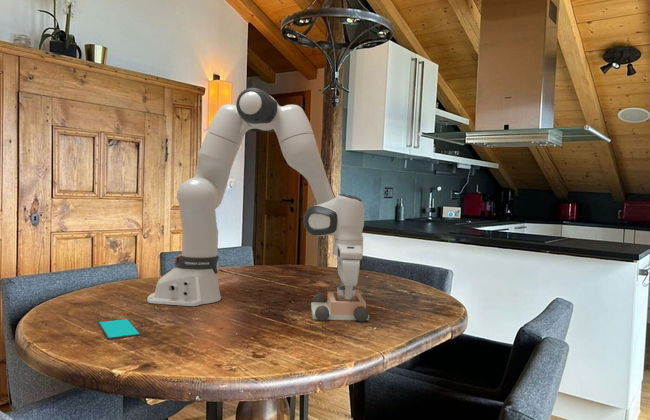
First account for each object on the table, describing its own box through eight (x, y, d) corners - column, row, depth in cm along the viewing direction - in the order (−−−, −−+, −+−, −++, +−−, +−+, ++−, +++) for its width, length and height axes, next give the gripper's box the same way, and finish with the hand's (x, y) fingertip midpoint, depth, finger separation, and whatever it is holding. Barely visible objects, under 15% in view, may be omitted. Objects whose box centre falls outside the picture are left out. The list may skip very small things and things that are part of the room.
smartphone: (127, 318, 124) (140, 333, 111) (127, 321, 124) (140, 337, 111) (97, 321, 119) (107, 338, 107) (97, 325, 119) (107, 341, 107)
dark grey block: (337, 310, 137) (338, 288, 136) (336, 306, 141) (337, 285, 140) (354, 310, 137) (355, 288, 137) (352, 307, 141) (353, 285, 141)
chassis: (313, 320, 130) (313, 303, 129) (310, 305, 147) (311, 290, 146) (369, 322, 131) (370, 304, 131) (361, 306, 148) (361, 291, 148)
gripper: (334, 244, 148) (332, 287, 149) (340, 253, 128) (338, 302, 128) (353, 245, 149) (352, 288, 149) (363, 254, 128) (361, 303, 129)
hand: (345, 295), depth 139 cm, fingers open, 8 cm apart
